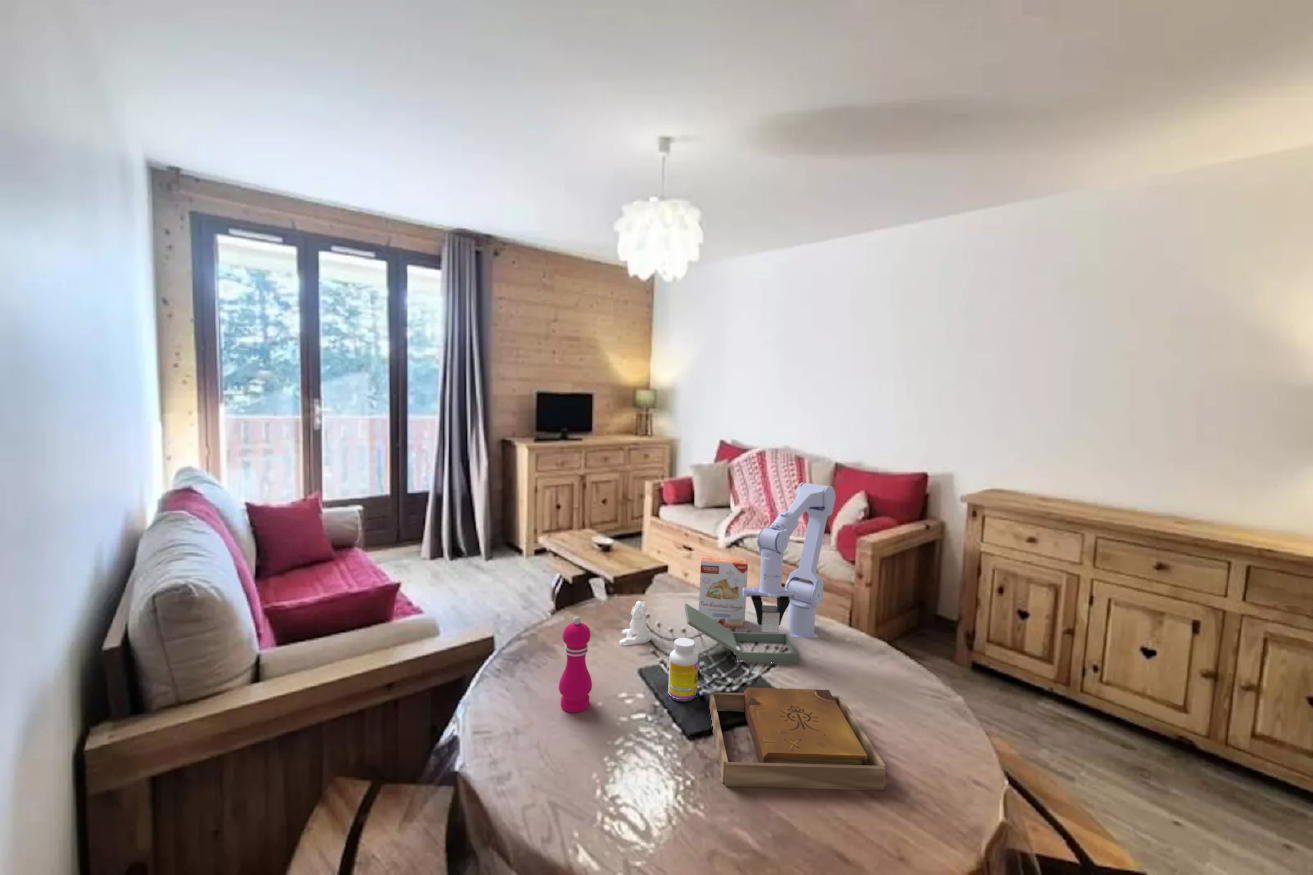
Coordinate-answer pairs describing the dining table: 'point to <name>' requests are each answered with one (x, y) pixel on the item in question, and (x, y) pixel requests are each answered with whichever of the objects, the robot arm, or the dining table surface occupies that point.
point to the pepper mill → (575, 668)
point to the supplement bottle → (683, 669)
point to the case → (742, 639)
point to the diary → (800, 727)
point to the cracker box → (723, 589)
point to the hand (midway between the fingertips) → (768, 623)
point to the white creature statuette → (637, 626)
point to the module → (769, 618)
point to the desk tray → (796, 773)
